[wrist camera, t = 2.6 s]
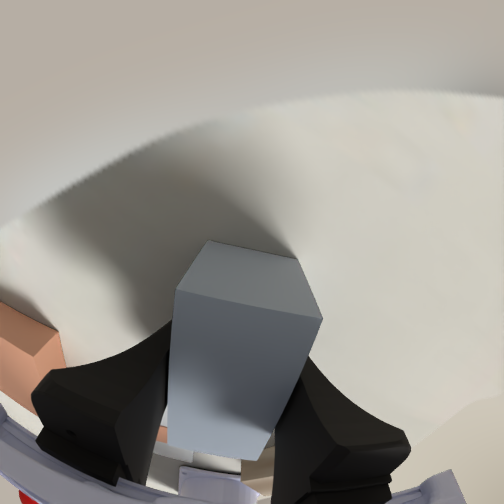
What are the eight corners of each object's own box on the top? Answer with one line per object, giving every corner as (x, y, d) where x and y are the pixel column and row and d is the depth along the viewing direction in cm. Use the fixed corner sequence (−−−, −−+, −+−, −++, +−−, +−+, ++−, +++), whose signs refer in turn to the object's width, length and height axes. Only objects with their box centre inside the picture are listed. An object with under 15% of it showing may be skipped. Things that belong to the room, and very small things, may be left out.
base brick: (78, 406, 16) (63, 431, 13) (14, 370, 16) (-3, 388, 13) (58, 331, 14) (33, 357, 11) (-9, 296, 13) (-32, 312, 10)
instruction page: (192, 461, 17) (191, 464, 17) (124, 442, 17) (123, 444, 17) (200, 410, 15) (199, 413, 15) (113, 385, 15) (111, 387, 14)
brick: (354, 442, 17) (362, 470, 14) (264, 468, 18) (264, 496, 15) (342, 420, 16) (351, 453, 13) (241, 450, 17) (240, 481, 14)
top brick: (257, 388, 14) (256, 460, 9) (188, 375, 14) (167, 444, 9) (298, 259, 12) (323, 318, 7) (207, 240, 12) (175, 288, 7)
